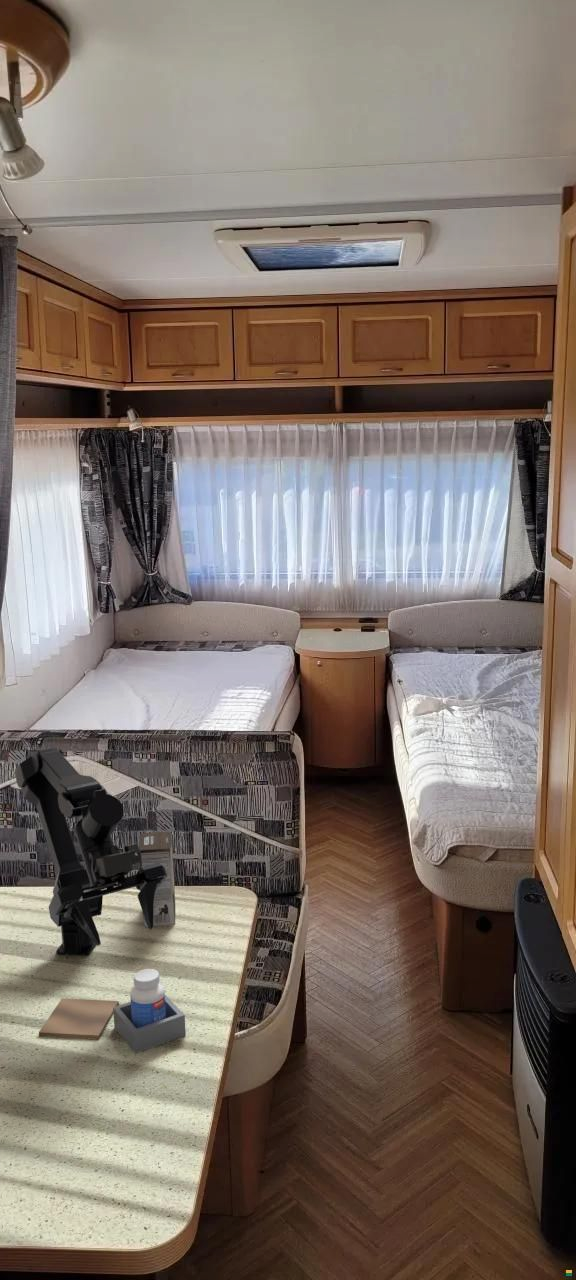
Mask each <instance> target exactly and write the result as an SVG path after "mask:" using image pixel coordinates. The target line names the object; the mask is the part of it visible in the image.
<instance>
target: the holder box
mask: <svg viewBox="0 0 576 1280" xmlns="http://www.w3.org/2000/svg"><path fill="white" fill-rule="evenodd" d="M165 1012H166V1019H163V1020H160V1021H157V1022H154V1023H152V1024H149V1025H146V1026H143V1027H140V1028H138V1029H136V1027H135V1026H134V1025H133V1024H132V1015H131V1001H129V1002H126V1003H125V1002H124V1003H123V1004H119V1005H118V1006H116V1007H113V1015H112V1016H113V1024H114V1025H113V1026H114V1029H115V1030H116V1032H117V1033H118V1034H119V1035H120V1036H121V1037H122V1039H123V1040H124V1041H125V1043H126V1044H127V1045H128V1046H129V1048H130V1049H131V1050H132V1051H133V1052H134V1055H136V1054H138V1053H141V1052H144V1051H146V1050H149V1049H153V1048H155V1047H157V1046H160V1045H162V1044H166V1043H168V1042H171V1041H173V1040H176V1038H177V1039H178V1038H179V1039H180V1038H182V1037H185V1036H186V1035H187V1032H186V1030H187V1029H186V1018H185V1017H186V1016H185V1014H184V1012H183V1011H182V1010H181V1009H180V1008H179V1007H178V1006H177V1005H176V1004H175V1003H174V1002H173V1001H172V1000H171V999H170V997H168V996H167V994H165ZM184 1035H185V1036H184Z"/></svg>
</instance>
